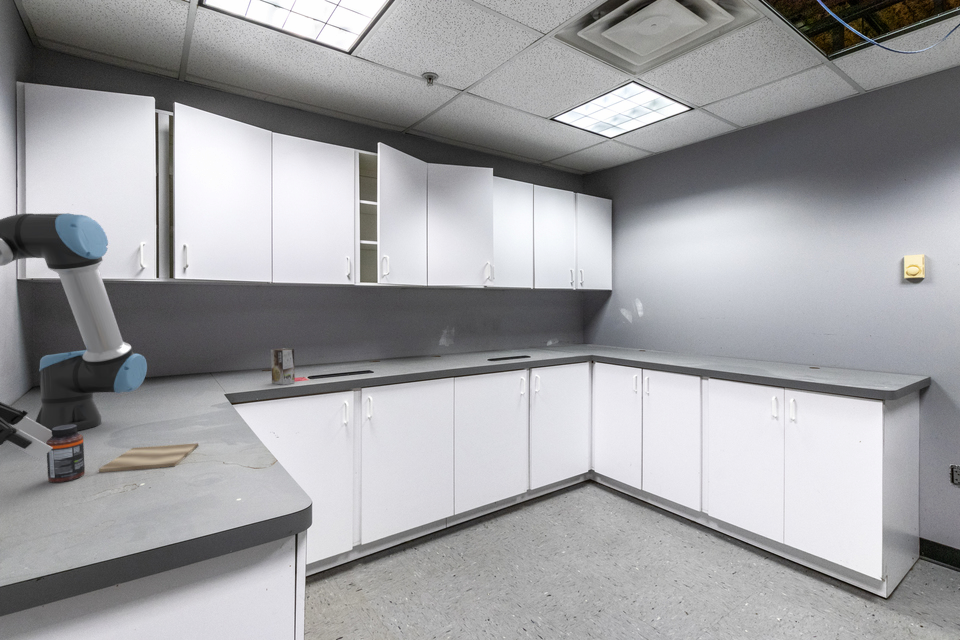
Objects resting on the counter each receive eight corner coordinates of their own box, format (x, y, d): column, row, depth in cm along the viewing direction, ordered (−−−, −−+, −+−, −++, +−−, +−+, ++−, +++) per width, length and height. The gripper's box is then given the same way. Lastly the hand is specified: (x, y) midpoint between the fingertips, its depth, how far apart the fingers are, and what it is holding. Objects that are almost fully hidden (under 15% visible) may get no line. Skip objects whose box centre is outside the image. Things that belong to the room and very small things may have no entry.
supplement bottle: (56, 475, 100) (54, 424, 99) (90, 471, 102) (88, 421, 101) (41, 485, 94) (39, 431, 94) (77, 481, 96) (75, 428, 96)
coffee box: (295, 382, 212) (294, 348, 211) (283, 385, 206) (282, 350, 206) (283, 381, 217) (282, 347, 216) (271, 383, 211) (270, 349, 211)
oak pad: (132, 450, 116) (132, 447, 116) (198, 446, 119) (198, 443, 119) (99, 472, 101) (98, 468, 101) (174, 466, 105) (174, 462, 105)
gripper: (-71, 389, 92) (35, 446, 103) (-109, 411, 74) (25, 478, 84) (-33, 361, 96) (65, 419, 106) (-60, 376, 77) (63, 444, 88)
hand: (48, 445), depth 95 cm, fingers open, 13 cm apart
